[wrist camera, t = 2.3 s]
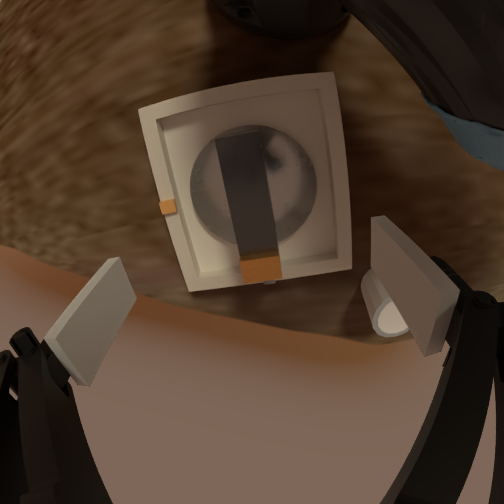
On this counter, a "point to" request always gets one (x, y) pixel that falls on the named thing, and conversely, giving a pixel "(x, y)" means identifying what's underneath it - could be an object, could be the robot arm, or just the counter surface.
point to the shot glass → (381, 307)
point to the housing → (266, 114)
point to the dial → (254, 194)
